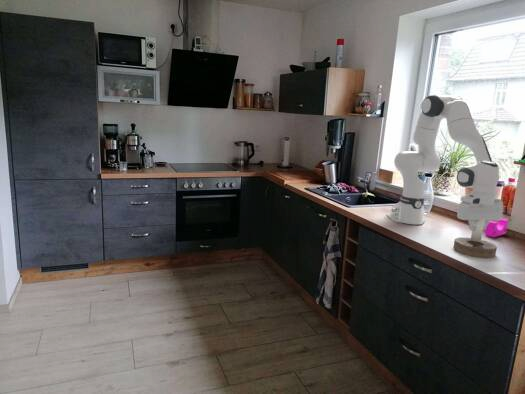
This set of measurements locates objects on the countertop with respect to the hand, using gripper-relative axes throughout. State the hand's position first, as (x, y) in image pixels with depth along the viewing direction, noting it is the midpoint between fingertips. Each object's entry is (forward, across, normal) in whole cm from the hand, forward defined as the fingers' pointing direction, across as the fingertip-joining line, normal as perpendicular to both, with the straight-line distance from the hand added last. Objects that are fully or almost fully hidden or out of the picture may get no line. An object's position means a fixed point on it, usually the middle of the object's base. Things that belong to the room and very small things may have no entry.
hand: (477, 229), depth 172 cm
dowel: (+5, 0, 0) cm, 5 cm away
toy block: (+11, -35, -27) cm, 45 cm away
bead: (+10, 0, 0) cm, 10 cm away
